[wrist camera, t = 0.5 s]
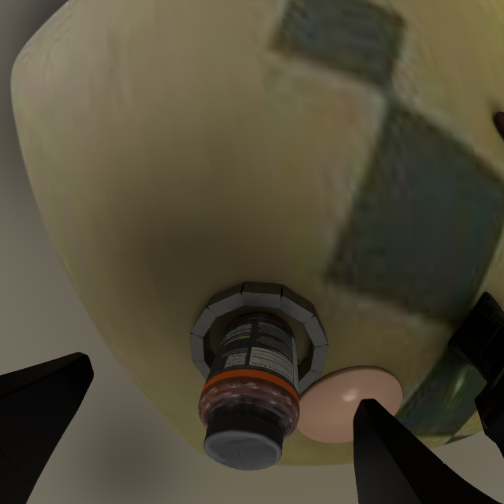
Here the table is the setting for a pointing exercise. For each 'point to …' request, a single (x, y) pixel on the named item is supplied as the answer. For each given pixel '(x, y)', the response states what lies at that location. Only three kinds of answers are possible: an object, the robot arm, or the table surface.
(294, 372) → the supplement bottle
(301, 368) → the cup collar
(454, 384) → the table surface
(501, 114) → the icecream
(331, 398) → the terracotta saucer
